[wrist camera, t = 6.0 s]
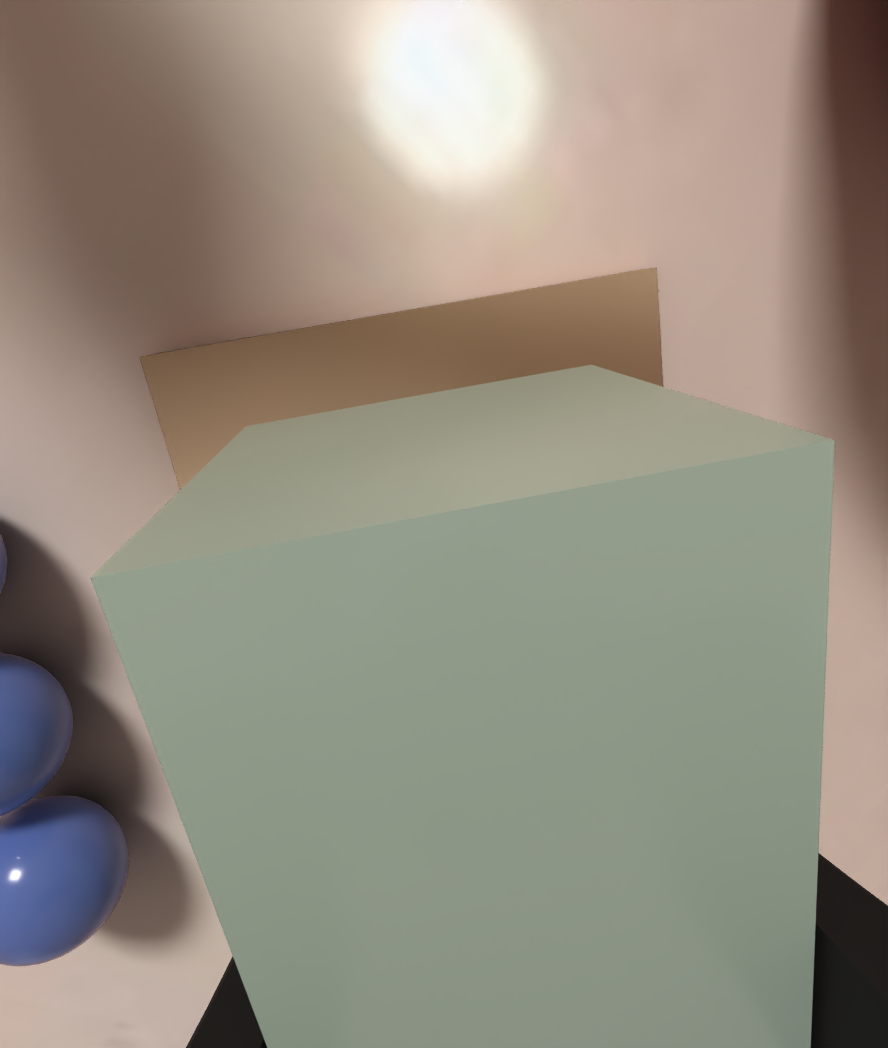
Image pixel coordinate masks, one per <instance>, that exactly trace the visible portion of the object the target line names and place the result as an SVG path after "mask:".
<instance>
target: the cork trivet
mask: <svg viewBox="0 0 888 1048" xmlns="http://www.w3.org/2000/svg"><path fill="white" fill-rule="evenodd" d="M140 360H141V364H142V367H143V370H144V373H145V377H146V380H147V383H148V386H149V390H150V393H151V396H152V399H153V403H154V406H155V409H156V412H157V416H158V419H159V422H160V425H161V429H162V432H163V435H164V438H165V442H166V445H167V448H168V451H169V455H170V458H171V461H172V464H173V468H174V471H175V474H176V477H177V481H178V484H179V487H180V490H181V489H182V488H183V487H184V486H185V485H186V484H187V483H188V482H189V481H190V480H191V479H192V478H193V477H194V476H195V475H196V474H197V473H199V472H200V471H201V470H202V469H203V468H204V467H205V466H206V465H207V464H208V463H209V462H210V461H211V460H212V459H213V458H214V457H215V456H216V455H217V454H218V453H219V452H220V451H221V450H222V449H223V448H224V447H225V446H226V445H227V444H228V443H229V442H230V441H231V440H232V439H233V438H234V437H235V436H236V435H237V434H238V433H240V432H241V431H242V430H243V429H244V428H245V427H246V426H249V425H255V424H260V423H266V422H272V421H277V420H283V419H289V418H294V417H300V416H305V415H311V414H317V413H322V412H328V411H333V410H339V409H345V408H350V407H356V406H362V405H367V404H373V403H378V402H384V401H390V400H395V399H401V398H407V397H412V396H418V395H423V394H429V393H435V392H440V391H446V390H451V389H457V388H463V387H468V386H474V385H480V384H485V383H491V382H496V381H502V380H508V379H513V378H519V377H524V376H530V375H536V374H541V373H547V372H553V371H558V370H564V369H569V368H575V367H581V366H586V365H594V366H598V367H601V368H604V369H607V370H610V371H614V372H617V373H620V374H623V375H627V376H630V377H633V378H636V379H639V380H643V381H646V382H649V383H652V384H655V385H659V386H662V387H663V377H662V358H661V339H660V320H659V300H658V281H657V268H650V269H642V270H637V271H631V272H625V273H619V274H614V275H608V276H602V277H596V278H590V279H585V280H579V281H573V282H567V283H562V284H556V285H550V286H544V287H538V288H533V289H527V290H521V291H515V292H510V293H504V294H498V295H492V296H486V297H481V298H475V299H469V300H463V301H458V302H452V303H446V304H440V305H434V306H429V307H423V308H417V309H411V310H406V311H400V312H394V313H388V314H382V315H377V316H371V317H365V318H359V319H354V320H348V321H342V322H336V323H330V324H325V325H319V326H313V327H307V328H302V329H296V330H290V331H284V332H278V333H273V334H267V335H261V336H255V337H250V338H244V339H238V340H232V341H226V342H221V343H215V344H209V345H203V346H198V347H192V348H186V349H180V350H175V351H169V352H163V353H157V354H151V355H147V356H142V357H140Z"/></svg>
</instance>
